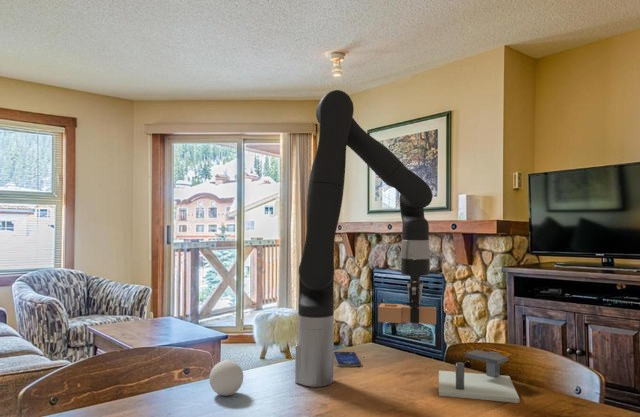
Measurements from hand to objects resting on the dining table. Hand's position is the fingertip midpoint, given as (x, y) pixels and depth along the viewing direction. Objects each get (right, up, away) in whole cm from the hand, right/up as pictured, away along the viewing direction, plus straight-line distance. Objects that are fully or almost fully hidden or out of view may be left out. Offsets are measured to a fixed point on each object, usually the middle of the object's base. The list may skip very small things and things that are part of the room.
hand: (414, 321), depth 127 cm
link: (-2, 0, +1) cm, 2 cm away
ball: (-48, -14, -14) cm, 52 cm away
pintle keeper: (+16, -15, -6) cm, 23 cm away
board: (+14, -15, -7) cm, 22 cm away
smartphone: (-17, -16, +16) cm, 29 cm away
